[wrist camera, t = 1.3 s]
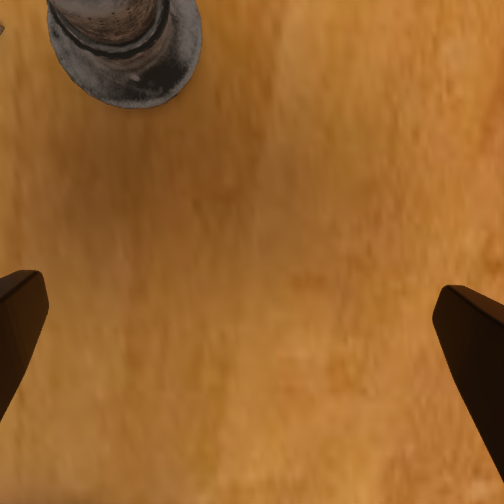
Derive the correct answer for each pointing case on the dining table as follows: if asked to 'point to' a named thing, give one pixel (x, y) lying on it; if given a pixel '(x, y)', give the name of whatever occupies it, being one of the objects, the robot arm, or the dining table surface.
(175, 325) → the dining table surface
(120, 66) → the dark grey tiered column
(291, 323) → the dining table surface
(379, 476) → the dining table surface
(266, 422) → the dining table surface
